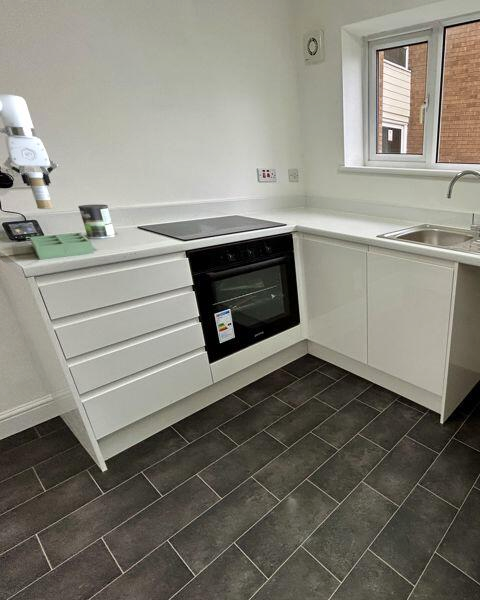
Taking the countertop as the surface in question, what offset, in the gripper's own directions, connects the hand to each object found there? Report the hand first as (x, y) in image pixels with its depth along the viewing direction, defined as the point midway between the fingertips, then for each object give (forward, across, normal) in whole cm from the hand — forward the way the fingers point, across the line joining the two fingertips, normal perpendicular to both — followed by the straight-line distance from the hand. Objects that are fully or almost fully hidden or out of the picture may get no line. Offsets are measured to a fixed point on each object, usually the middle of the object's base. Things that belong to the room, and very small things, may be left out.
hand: (38, 185), depth 134 cm
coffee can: (+24, +17, +14) cm, 33 cm away
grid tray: (+24, 0, -9) cm, 26 cm away
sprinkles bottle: (+9, 0, 0) cm, 9 cm away
